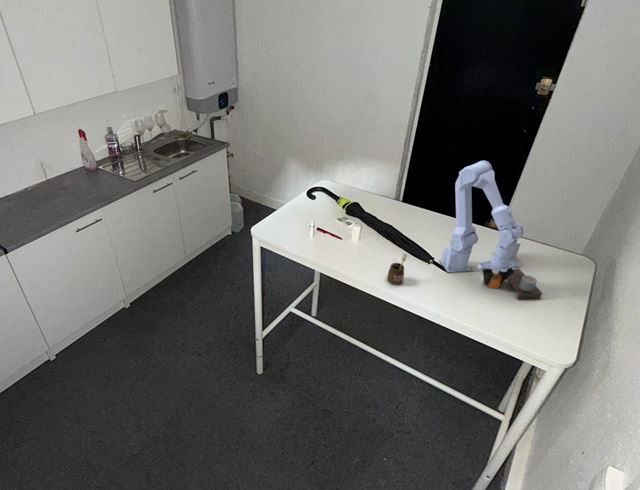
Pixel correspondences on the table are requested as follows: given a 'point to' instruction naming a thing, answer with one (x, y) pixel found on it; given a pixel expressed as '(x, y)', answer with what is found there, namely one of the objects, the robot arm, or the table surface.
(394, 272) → the utensil holder
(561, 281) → the table surface
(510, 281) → the brown rectangular block
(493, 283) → the orange tape
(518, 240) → the small box
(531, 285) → the grey tape
